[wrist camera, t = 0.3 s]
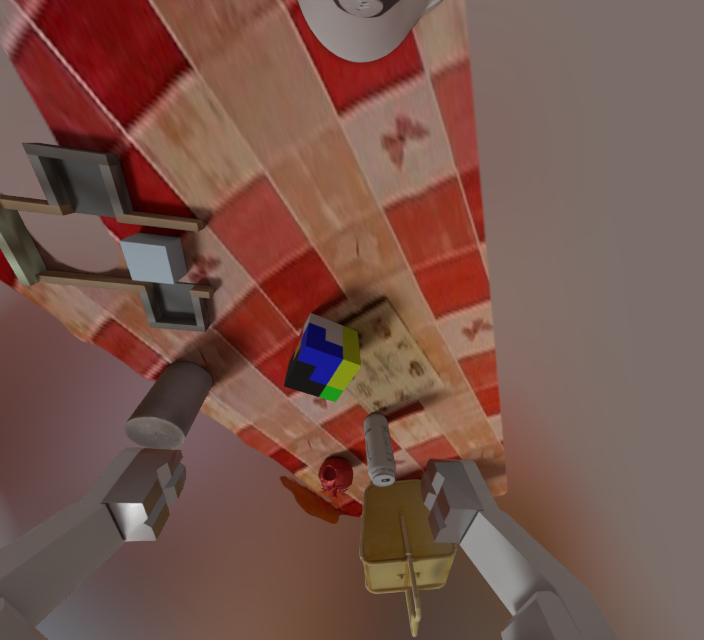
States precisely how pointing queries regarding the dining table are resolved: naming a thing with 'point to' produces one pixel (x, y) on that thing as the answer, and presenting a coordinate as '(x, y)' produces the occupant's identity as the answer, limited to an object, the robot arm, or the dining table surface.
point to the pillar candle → (169, 407)
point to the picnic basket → (401, 544)
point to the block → (154, 258)
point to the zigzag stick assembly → (104, 200)
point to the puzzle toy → (323, 358)
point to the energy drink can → (379, 450)
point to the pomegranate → (335, 475)
